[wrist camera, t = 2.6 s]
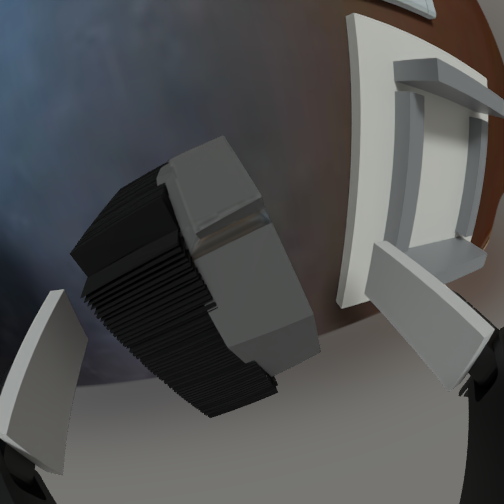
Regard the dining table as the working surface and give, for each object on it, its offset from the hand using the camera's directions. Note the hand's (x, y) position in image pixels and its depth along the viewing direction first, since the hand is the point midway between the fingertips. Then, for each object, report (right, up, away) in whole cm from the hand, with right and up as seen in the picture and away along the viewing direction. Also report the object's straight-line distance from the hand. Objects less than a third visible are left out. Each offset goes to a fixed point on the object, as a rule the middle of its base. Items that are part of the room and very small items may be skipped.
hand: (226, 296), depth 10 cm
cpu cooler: (-2, +3, +6) cm, 7 cm away
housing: (+16, +9, +8) cm, 20 cm away
